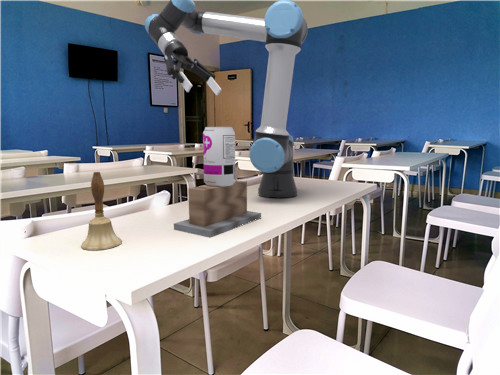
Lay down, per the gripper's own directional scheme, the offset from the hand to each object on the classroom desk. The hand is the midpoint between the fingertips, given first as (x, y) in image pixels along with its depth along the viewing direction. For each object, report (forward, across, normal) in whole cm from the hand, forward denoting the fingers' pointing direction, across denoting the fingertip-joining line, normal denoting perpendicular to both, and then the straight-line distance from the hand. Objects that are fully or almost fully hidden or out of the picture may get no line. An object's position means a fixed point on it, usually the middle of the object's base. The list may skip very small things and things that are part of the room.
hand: (205, 90), depth 115 cm
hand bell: (+36, +47, -17) cm, 62 cm away
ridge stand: (+42, +18, -11) cm, 47 cm away
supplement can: (+35, +18, -4) cm, 40 cm away
